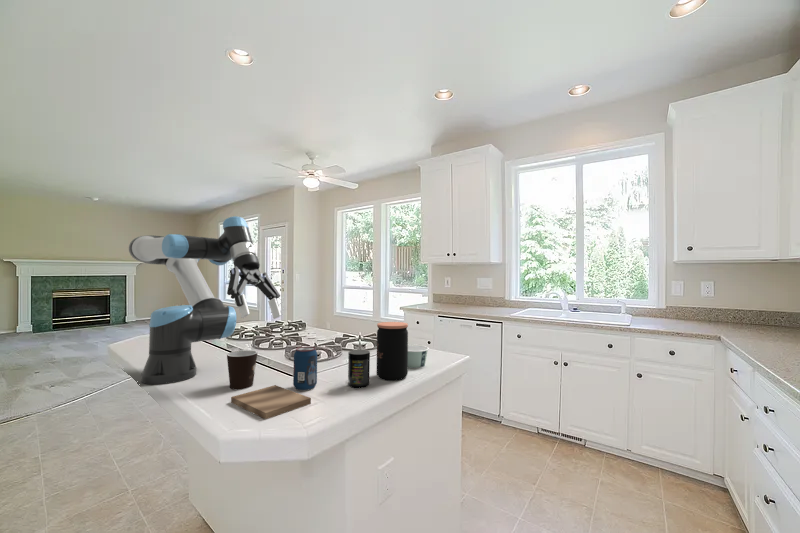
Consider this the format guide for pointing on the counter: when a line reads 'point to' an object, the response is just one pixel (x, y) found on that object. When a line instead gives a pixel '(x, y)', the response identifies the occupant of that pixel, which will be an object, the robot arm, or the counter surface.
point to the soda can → (305, 368)
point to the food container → (417, 355)
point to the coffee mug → (241, 368)
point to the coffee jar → (392, 350)
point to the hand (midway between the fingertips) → (262, 316)
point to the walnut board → (270, 401)
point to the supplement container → (358, 368)
